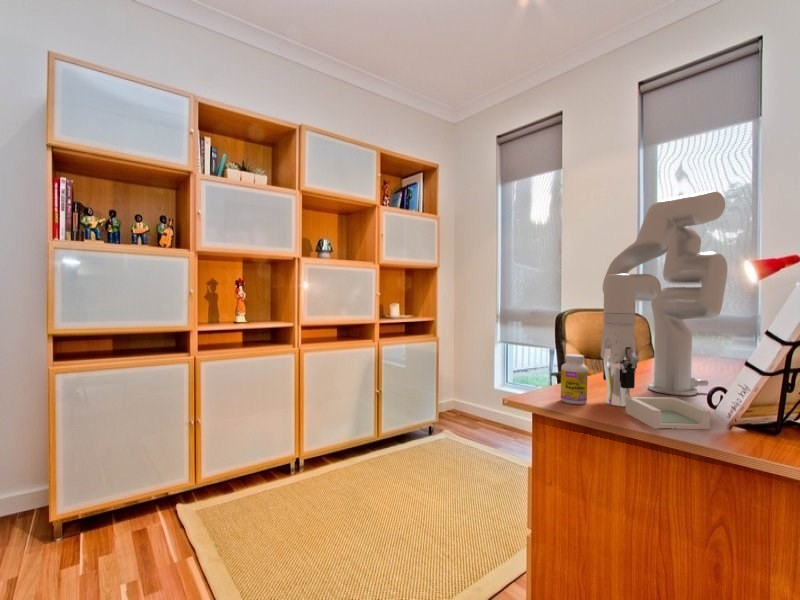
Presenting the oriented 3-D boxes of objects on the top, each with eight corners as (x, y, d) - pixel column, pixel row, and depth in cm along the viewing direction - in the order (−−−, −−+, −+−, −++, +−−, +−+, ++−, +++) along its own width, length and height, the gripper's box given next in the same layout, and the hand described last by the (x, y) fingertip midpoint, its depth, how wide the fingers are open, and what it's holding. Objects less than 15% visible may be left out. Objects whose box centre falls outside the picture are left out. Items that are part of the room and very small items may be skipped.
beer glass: (637, 408, 107) (637, 350, 106) (607, 407, 108) (608, 349, 108) (627, 401, 114) (628, 347, 113) (600, 400, 115) (601, 346, 115)
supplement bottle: (561, 403, 111) (561, 356, 111) (560, 398, 117) (560, 352, 117) (588, 406, 109) (588, 357, 109) (585, 400, 115) (586, 354, 115)
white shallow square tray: (675, 413, 102) (675, 397, 102) (709, 429, 90) (709, 411, 90) (625, 412, 103) (626, 396, 103) (653, 428, 91) (654, 410, 91)
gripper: (590, 318, 119) (590, 377, 119) (621, 322, 102) (620, 391, 102) (617, 318, 119) (616, 377, 119) (652, 322, 102) (650, 391, 102)
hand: (618, 383), depth 111 cm, fingers open, 9 cm apart
